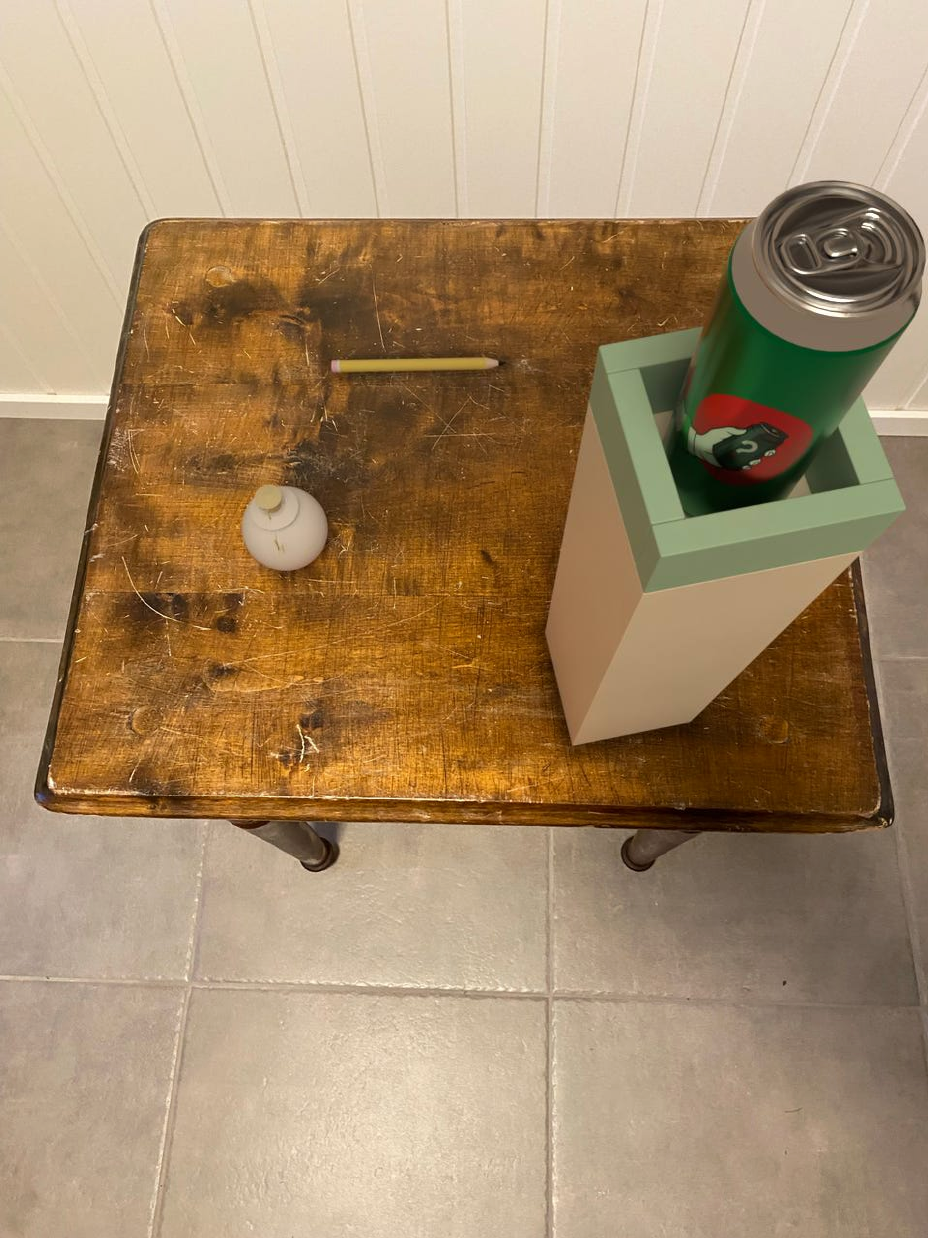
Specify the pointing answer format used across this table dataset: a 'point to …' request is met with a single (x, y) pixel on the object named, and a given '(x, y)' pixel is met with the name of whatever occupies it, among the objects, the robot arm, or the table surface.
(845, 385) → the soda can
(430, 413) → the table surface
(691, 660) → the holder
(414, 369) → the pencil
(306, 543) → the ornament
